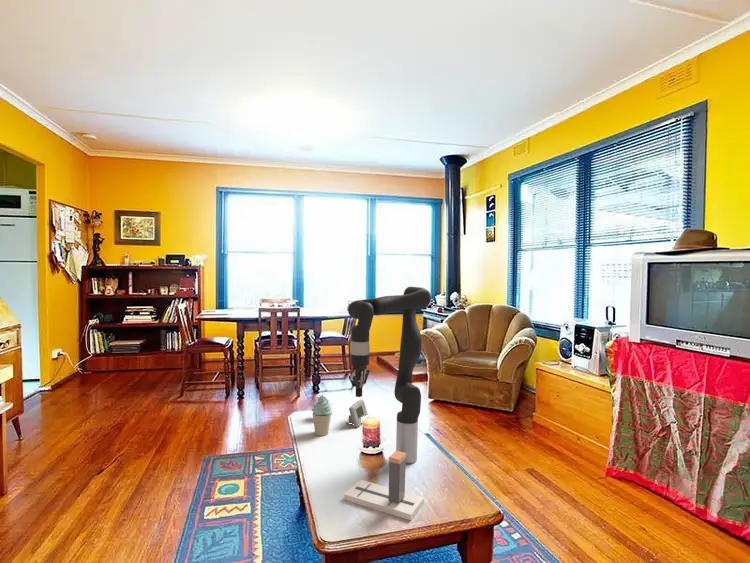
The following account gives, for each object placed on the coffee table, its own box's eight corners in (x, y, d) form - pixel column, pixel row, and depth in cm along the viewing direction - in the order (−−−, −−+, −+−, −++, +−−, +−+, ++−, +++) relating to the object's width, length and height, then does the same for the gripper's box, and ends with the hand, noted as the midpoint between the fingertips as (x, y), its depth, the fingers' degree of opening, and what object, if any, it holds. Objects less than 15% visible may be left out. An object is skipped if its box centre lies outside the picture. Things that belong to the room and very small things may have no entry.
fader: (394, 493, 155) (396, 450, 154) (405, 496, 153) (406, 452, 152) (387, 501, 149) (388, 457, 149) (398, 504, 148) (399, 459, 147)
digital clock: (356, 429, 220) (356, 408, 220) (342, 425, 225) (342, 405, 225) (373, 419, 234) (373, 400, 234) (359, 416, 239) (360, 397, 238)
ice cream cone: (328, 428, 220) (329, 389, 220) (333, 436, 210) (334, 396, 209) (309, 430, 217) (309, 391, 216) (313, 438, 207) (313, 397, 206)
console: (360, 484, 165) (360, 479, 165) (423, 503, 153) (424, 497, 153) (343, 499, 154) (344, 493, 154) (411, 520, 142) (411, 514, 142)
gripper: (360, 356, 159) (359, 402, 160) (376, 350, 171) (375, 393, 172) (342, 354, 163) (341, 399, 163) (359, 348, 174) (358, 390, 175)
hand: (358, 396), depth 167 cm, fingers closed
